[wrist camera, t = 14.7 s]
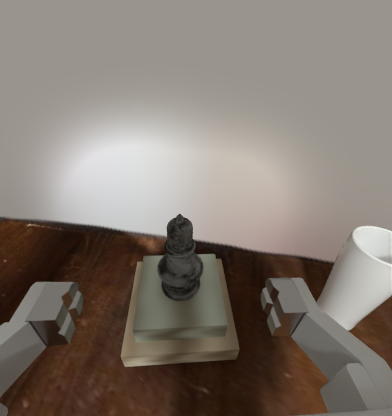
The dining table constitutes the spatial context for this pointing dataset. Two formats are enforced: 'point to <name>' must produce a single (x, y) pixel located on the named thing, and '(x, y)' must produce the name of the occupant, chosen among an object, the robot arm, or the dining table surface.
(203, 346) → the brick tower base
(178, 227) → the dark grey ornamental finial
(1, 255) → the dining table surface
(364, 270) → the drinking glass
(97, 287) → the dining table surface
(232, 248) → the dining table surface
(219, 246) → the dining table surface
